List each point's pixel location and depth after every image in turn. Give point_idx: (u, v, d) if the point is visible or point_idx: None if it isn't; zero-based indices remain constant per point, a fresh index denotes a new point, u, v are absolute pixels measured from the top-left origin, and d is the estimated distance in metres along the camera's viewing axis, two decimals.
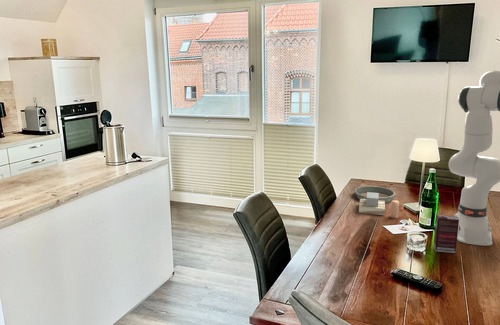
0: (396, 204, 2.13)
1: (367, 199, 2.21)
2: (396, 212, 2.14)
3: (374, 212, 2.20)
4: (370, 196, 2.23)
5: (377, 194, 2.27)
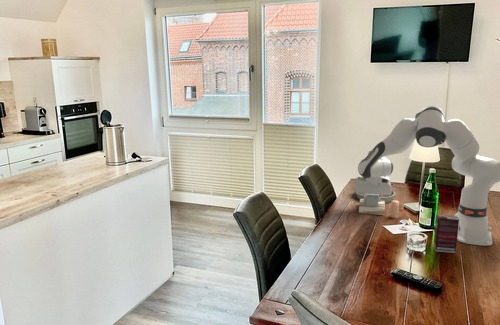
0: (396, 204, 2.13)
1: (367, 199, 2.21)
2: (396, 212, 2.14)
3: (374, 212, 2.20)
4: (370, 196, 2.23)
5: (377, 194, 2.27)
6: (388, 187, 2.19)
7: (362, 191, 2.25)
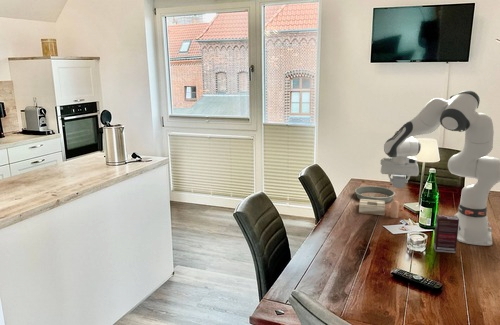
0: (396, 204, 2.13)
1: (394, 180, 2.18)
2: (396, 212, 2.14)
3: (374, 212, 2.20)
4: (396, 177, 2.20)
5: (403, 175, 2.23)
6: (415, 168, 2.16)
7: (388, 172, 2.21)
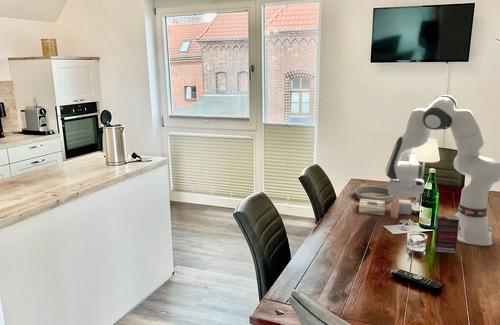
0: (396, 204, 2.13)
1: (400, 207, 2.21)
2: (396, 212, 2.14)
3: (374, 212, 2.20)
4: (403, 204, 2.23)
5: (409, 202, 2.26)
6: (422, 190, 2.18)
7: (396, 194, 2.24)
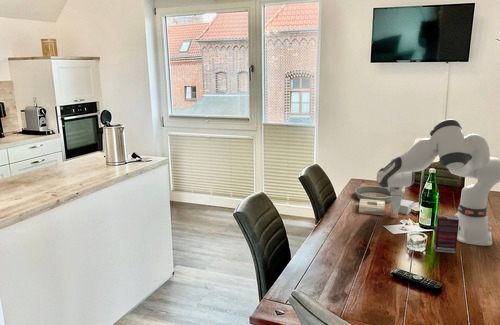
0: None
1: None
2: None
3: (374, 212, 2.20)
4: (401, 203, 2.23)
5: (411, 202, 2.25)
6: None
7: (391, 198, 2.20)
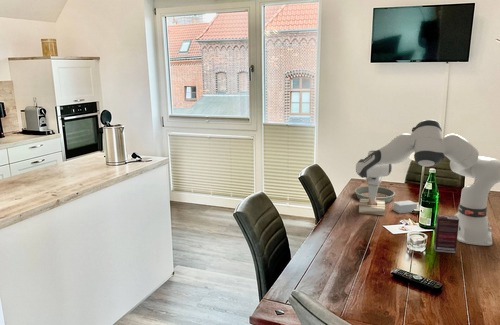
0: None
1: (393, 203, 2.26)
2: None
3: (374, 212, 2.20)
4: (399, 202, 2.25)
5: (411, 204, 2.23)
6: None
7: None
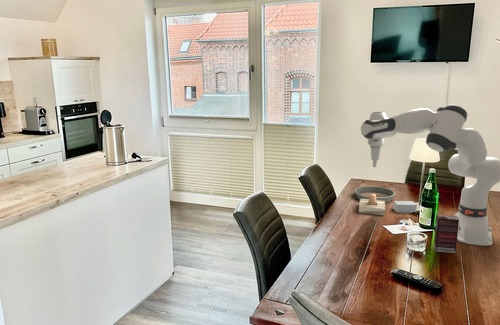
0: (373, 197, 2.24)
1: None
2: None
3: (374, 212, 2.20)
4: (399, 202, 2.26)
5: (410, 204, 2.22)
6: None
7: None
